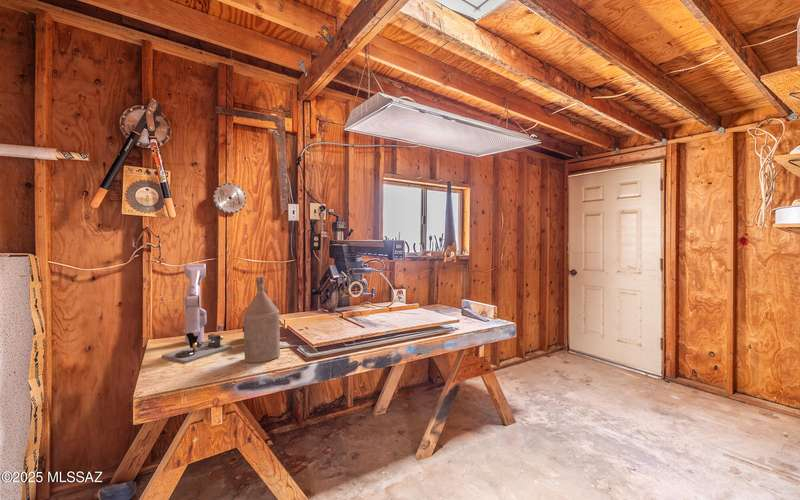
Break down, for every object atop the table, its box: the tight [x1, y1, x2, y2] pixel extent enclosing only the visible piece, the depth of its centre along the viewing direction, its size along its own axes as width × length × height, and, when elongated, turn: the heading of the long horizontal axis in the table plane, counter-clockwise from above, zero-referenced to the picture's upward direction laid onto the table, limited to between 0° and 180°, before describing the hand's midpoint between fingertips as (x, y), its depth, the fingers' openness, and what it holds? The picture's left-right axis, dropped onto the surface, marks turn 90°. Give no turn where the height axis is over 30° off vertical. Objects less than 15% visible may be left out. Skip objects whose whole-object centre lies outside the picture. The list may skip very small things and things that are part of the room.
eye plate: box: [205, 333, 224, 349], centre depth 174 cm, size 9×4×6 cm, turn 65°
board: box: [161, 343, 232, 364], centre depth 168 cm, size 18×24×1 cm
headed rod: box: [197, 335, 224, 348], centre depth 173 cm, size 3×14×3 cm, turn 155°
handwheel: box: [175, 342, 197, 357], centre depth 161 cm, size 8×9×5 cm
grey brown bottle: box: [242, 275, 282, 364], centre depth 160 cm, size 13×17×40 cm
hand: (192, 347), depth 164 cm, fingers closed, pressing on handwheel
